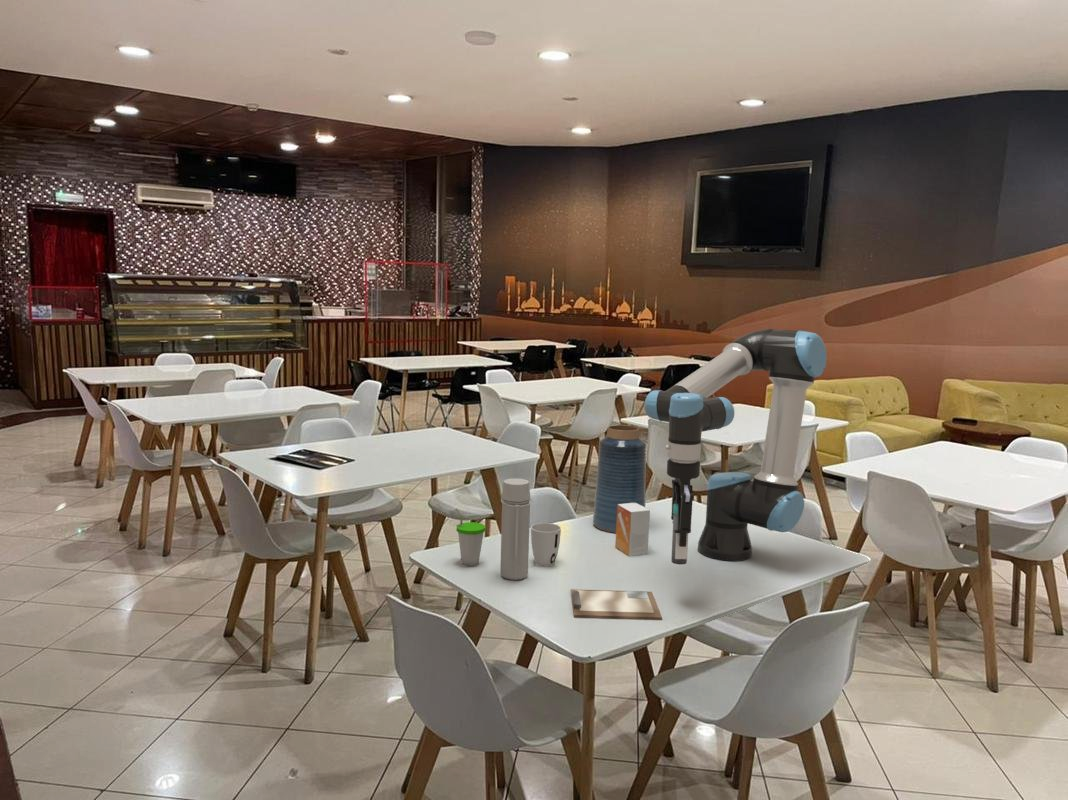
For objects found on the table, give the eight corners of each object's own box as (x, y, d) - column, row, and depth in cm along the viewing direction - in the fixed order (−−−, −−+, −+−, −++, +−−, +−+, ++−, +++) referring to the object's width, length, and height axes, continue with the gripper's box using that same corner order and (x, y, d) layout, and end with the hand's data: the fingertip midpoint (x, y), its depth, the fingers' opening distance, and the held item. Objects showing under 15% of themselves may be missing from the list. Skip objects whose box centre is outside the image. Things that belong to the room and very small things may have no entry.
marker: (685, 558, 187) (687, 502, 185) (688, 564, 183) (691, 507, 181) (669, 558, 187) (672, 502, 185) (672, 564, 183) (675, 507, 181)
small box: (614, 547, 224) (616, 503, 222) (633, 545, 226) (636, 502, 225) (628, 556, 217) (631, 511, 215) (648, 554, 219) (650, 509, 217)
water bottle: (498, 570, 203) (500, 477, 199) (528, 570, 203) (531, 478, 200) (499, 584, 194) (502, 486, 190) (531, 584, 194) (534, 487, 191)
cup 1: (490, 564, 208) (492, 509, 205) (469, 571, 202) (470, 515, 200) (471, 556, 213) (472, 503, 211) (449, 563, 207) (450, 509, 205)
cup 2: (556, 569, 205) (558, 533, 203) (526, 566, 206) (528, 530, 205) (561, 559, 213) (563, 524, 211) (533, 556, 214) (534, 521, 213)
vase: (586, 519, 250) (590, 423, 246) (633, 517, 254) (638, 422, 250) (602, 535, 235) (607, 433, 230) (652, 533, 238) (658, 432, 234)
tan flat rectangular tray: (651, 593, 190) (652, 587, 190) (661, 619, 176) (662, 613, 175) (570, 591, 190) (570, 585, 190) (573, 617, 175) (574, 610, 175)
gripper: (661, 451, 189) (658, 543, 193) (674, 468, 173) (669, 568, 176) (692, 451, 189) (688, 543, 193) (707, 468, 173) (702, 568, 176)
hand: (679, 555), depth 185 cm, fingers closed on marker, 3 cm apart
